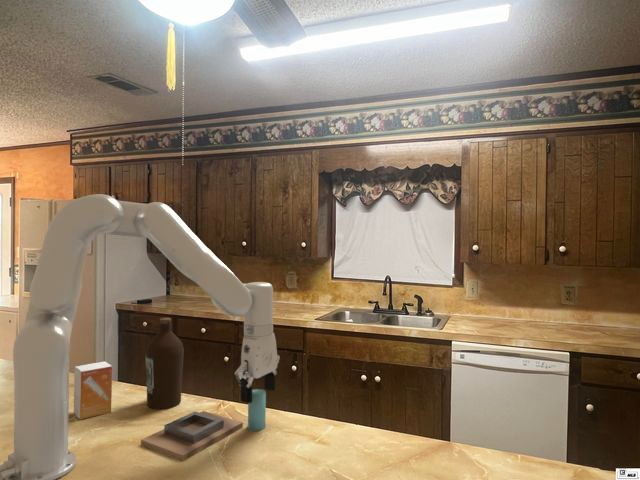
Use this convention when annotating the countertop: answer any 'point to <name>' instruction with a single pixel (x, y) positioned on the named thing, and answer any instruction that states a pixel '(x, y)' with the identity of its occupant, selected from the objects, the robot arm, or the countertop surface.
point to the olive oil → (164, 368)
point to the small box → (92, 389)
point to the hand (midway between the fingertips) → (258, 395)
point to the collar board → (191, 434)
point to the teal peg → (257, 410)
